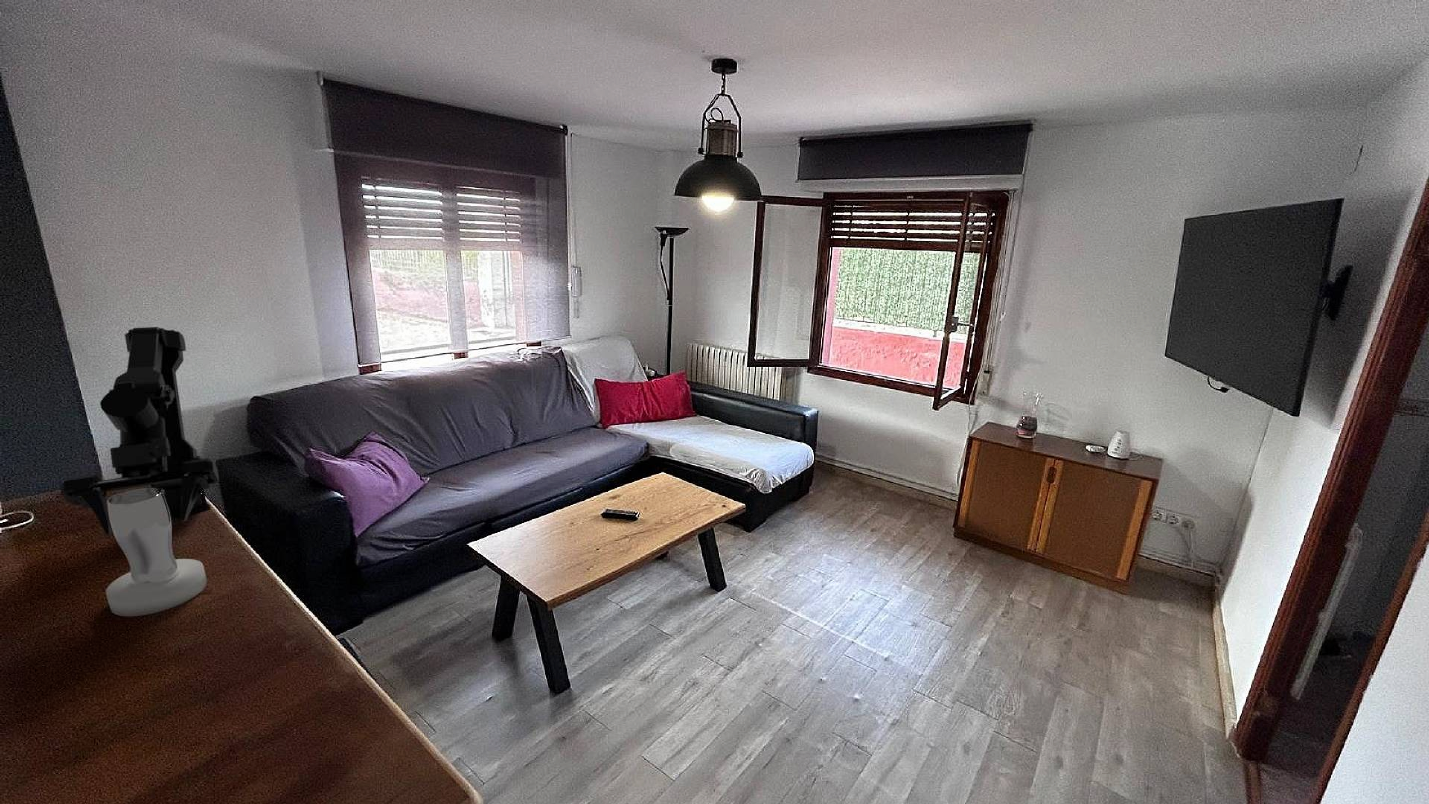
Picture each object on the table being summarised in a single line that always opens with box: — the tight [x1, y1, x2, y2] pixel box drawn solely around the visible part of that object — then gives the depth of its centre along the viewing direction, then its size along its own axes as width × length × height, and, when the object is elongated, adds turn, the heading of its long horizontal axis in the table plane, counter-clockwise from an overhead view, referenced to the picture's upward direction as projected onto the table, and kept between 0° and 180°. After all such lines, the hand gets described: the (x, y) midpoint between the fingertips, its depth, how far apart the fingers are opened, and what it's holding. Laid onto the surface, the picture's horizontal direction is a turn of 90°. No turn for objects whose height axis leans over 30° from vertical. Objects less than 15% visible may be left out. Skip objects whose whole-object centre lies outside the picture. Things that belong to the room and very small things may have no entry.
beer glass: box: [106, 486, 180, 587], centre depth 97 cm, size 7×7×15 cm
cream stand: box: [105, 558, 208, 617], centre depth 99 cm, size 12×12×3 cm
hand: (147, 527), depth 98 cm, fingers open, 9 cm apart
